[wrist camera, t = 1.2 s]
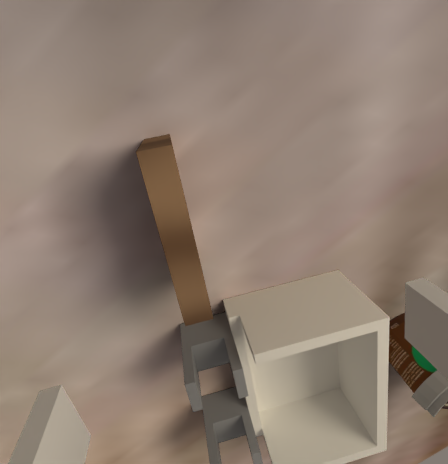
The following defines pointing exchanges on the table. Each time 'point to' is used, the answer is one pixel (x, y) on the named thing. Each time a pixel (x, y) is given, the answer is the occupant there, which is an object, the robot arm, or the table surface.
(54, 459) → the robot arm
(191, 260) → the door
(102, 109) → the table surface
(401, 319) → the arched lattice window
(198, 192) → the table surface
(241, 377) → the carcass
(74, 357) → the table surface
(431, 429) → the table surface
